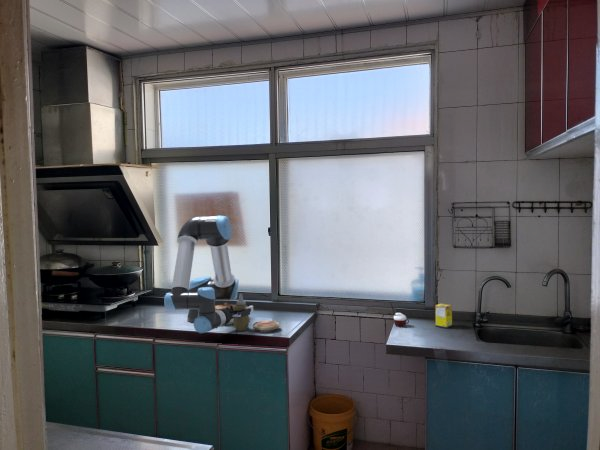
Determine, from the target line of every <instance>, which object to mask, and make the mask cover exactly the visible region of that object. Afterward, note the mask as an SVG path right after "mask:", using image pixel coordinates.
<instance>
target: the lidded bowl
mask: <svg viewBox="0 0 600 450" xmlns="http://www.w3.org/2000/svg"><path fill="white" fill-rule="evenodd" d="M230 306H232V308H233V307H234V306H236V303H228V302H226V301H224V303H221V304H220V303H219V304H215V311H216V310H219V309H222V308H226V307H229V308H230ZM233 321H234V318H233V319H231V320H230V322H229V323H227V324H225V325H232V324H234V323H233Z"/></svg>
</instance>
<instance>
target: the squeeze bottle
mask: <svg viewBox="0 0 600 450" xmlns="http://www.w3.org/2000/svg"><path fill="white" fill-rule="evenodd" d="M235 304H236V306H235V308H234V310H237V311H238V310H242V309H245V308H247V307H249V306H248V305H247V304H246V300H244V298H243V293H239V296H238V299H237V300H236V303H235ZM232 324H233V326H234V329H235V330H236V331H238V332H239V331H240V332H241V331H246V330H248V329H249V324H250V315H247V316H244V317H241V318H240V319H238V318H237V317H236V318H234V321H233V323H232Z"/></svg>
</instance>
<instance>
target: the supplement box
mask: <svg viewBox="0 0 600 450" xmlns="http://www.w3.org/2000/svg"><path fill="white" fill-rule="evenodd" d="M434 306H435V309H434V310H435V312H434V313H435V328H442V329H448V328H451V327H452V326H453V311H452V310H453V309H452V308H453V306H452V304H449V303H448V304H446V303H438V304H435V305H434Z"/></svg>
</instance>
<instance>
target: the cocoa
mask: <svg viewBox="0 0 600 450" xmlns="http://www.w3.org/2000/svg"><path fill="white" fill-rule="evenodd" d="M389 304H390V307H391V311H392V312H393V323H394V325H395V326H396V327H397V326H398V328H403V327H406V326H407V325H408V324H409V322H410V319H408V318H407V316H406V315H405V314H403V313H401V312H395V310H394V306H393V305H392V304H393V303H392V302H389Z"/></svg>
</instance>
